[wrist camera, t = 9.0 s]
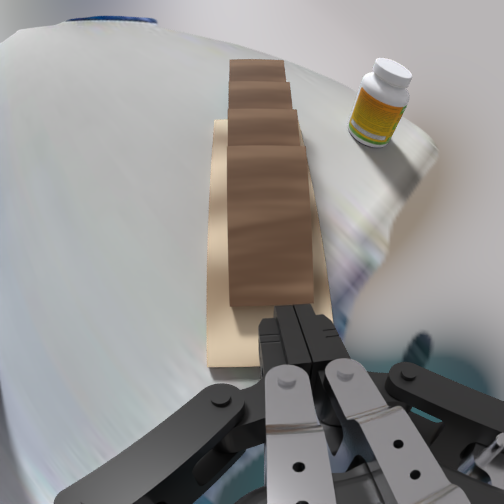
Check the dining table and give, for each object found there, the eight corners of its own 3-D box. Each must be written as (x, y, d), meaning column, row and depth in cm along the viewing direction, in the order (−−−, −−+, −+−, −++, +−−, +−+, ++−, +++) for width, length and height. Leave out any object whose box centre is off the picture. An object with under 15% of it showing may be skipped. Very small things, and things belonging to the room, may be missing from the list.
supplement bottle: (390, 154, 28) (424, 89, 19) (346, 141, 28) (371, 69, 19) (386, 126, 30) (413, 65, 21) (346, 113, 31) (366, 48, 22)
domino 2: (299, 193, 22) (289, 82, 23) (228, 193, 22) (228, 81, 23) (295, 197, 24) (287, 91, 24) (229, 198, 24) (229, 90, 24)
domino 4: (313, 303, 19) (305, 146, 19) (229, 306, 18) (226, 146, 19) (308, 300, 20) (301, 154, 21) (230, 303, 20) (227, 154, 21)
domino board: (332, 360, 19) (336, 359, 18) (208, 367, 19) (207, 367, 18) (297, 125, 29) (298, 119, 28) (214, 125, 29) (214, 119, 28)
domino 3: (306, 243, 20) (296, 109, 21) (228, 245, 20) (227, 108, 21) (302, 244, 22) (293, 118, 23) (229, 246, 22) (228, 118, 22)
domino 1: (292, 150, 24) (283, 60, 24) (229, 150, 24) (229, 59, 24) (289, 156, 26) (281, 68, 26) (229, 157, 25) (230, 68, 26)
